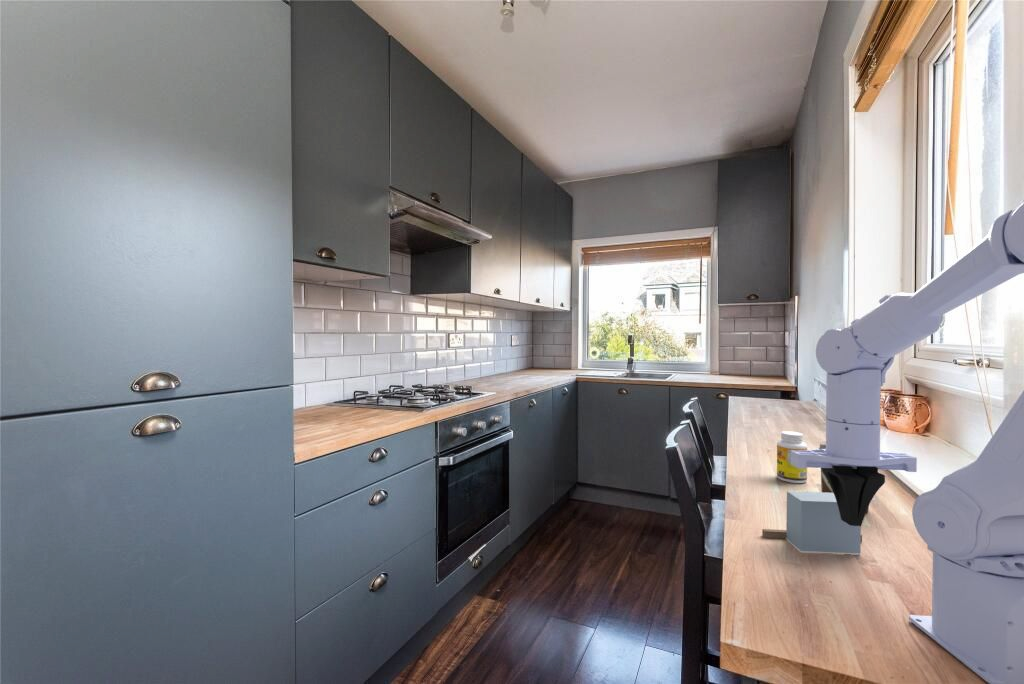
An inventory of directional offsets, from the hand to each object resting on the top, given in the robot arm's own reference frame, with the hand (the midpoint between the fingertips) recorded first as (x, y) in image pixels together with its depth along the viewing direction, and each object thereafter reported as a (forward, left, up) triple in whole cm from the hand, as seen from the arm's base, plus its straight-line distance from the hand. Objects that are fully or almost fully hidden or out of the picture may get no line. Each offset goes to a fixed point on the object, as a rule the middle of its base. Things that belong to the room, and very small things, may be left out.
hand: (851, 522), depth 59 cm
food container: (+23, -15, -6) cm, 28 cm away
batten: (+9, 0, -6) cm, 11 cm away
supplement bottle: (+38, -12, -6) cm, 41 cm away
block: (+6, 0, -6) cm, 9 cm away
